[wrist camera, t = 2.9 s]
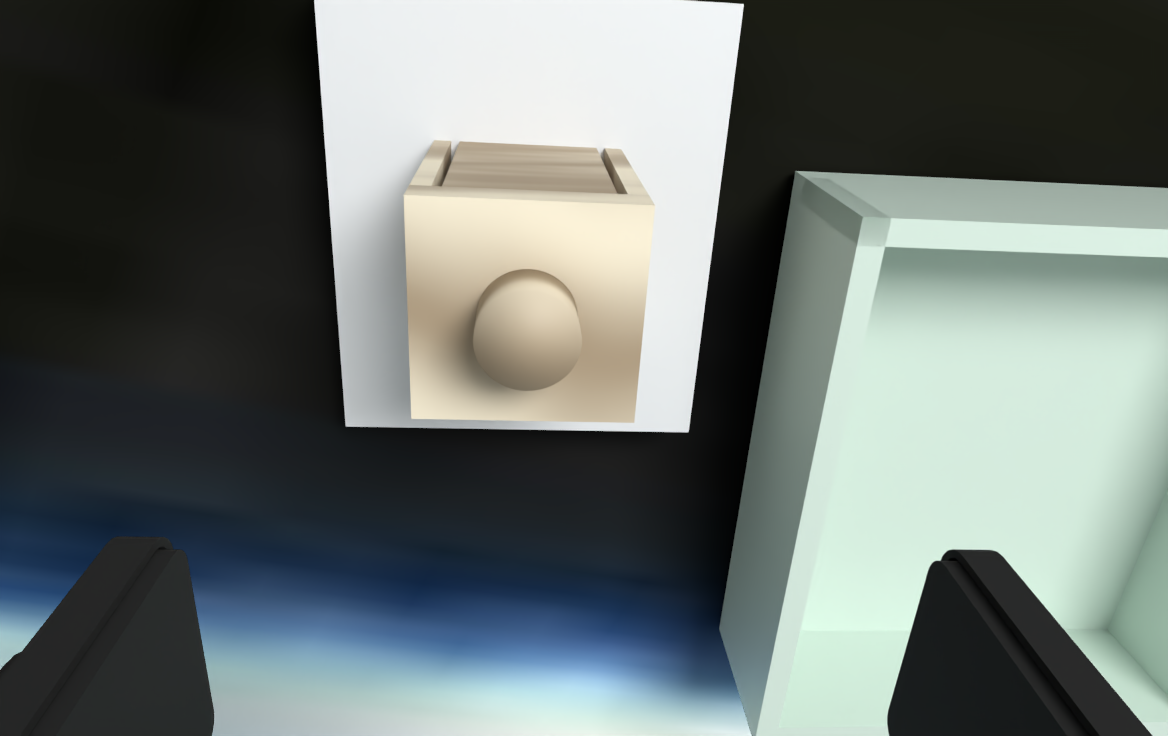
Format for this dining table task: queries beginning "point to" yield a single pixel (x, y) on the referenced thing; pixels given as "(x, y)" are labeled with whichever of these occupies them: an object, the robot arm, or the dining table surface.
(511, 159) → the drawer
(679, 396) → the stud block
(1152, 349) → the bin
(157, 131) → the dining table surface
